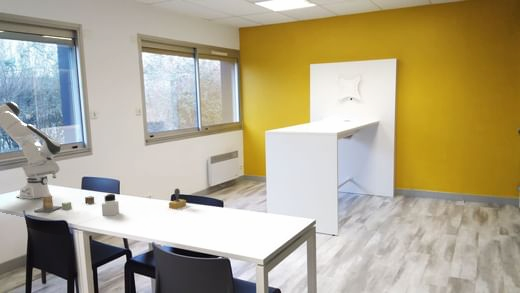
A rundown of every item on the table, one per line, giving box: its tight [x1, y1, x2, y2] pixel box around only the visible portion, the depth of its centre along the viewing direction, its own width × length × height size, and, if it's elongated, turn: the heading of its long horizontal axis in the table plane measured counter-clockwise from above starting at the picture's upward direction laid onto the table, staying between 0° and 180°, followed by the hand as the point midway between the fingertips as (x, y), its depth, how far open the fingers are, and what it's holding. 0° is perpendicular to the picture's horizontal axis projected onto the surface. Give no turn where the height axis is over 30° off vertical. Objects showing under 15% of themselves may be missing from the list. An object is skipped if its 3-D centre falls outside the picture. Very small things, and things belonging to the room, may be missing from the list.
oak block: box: [41, 195, 54, 210], centre depth 251 cm, size 4×4×8 cm
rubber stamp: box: [168, 188, 187, 210], centre depth 253 cm, size 10×6×12 cm, turn 148°
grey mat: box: [33, 205, 62, 214], centre depth 252 cm, size 11×11×1 cm
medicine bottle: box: [101, 193, 120, 217], centre depth 239 cm, size 7×7×12 cm
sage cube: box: [61, 201, 72, 210], centre depth 255 cm, size 4×4×4 cm
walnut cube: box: [84, 195, 95, 205], centre depth 268 cm, size 4×4×4 cm
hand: (47, 179), depth 249 cm, fingers open, 8 cm apart
